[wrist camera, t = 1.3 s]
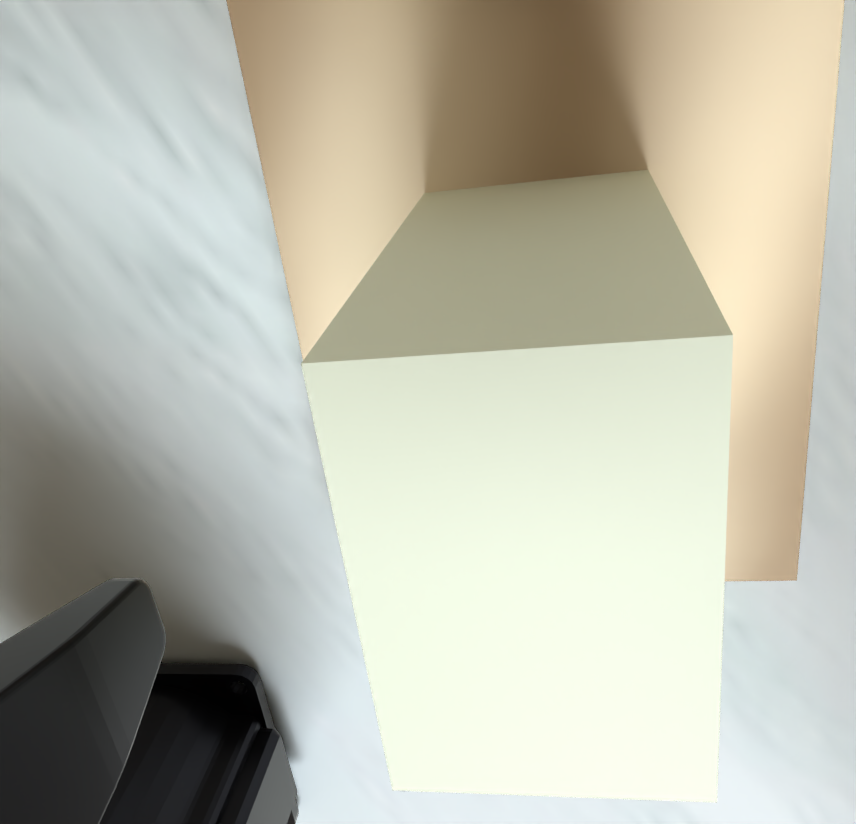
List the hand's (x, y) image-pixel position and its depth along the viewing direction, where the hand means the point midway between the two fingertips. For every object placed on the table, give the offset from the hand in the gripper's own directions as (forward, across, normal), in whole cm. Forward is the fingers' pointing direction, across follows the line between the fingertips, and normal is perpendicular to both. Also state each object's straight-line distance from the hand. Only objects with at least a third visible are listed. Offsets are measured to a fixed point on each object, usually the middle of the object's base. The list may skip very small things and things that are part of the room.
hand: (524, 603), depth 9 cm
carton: (+8, 0, 0) cm, 8 cm away
